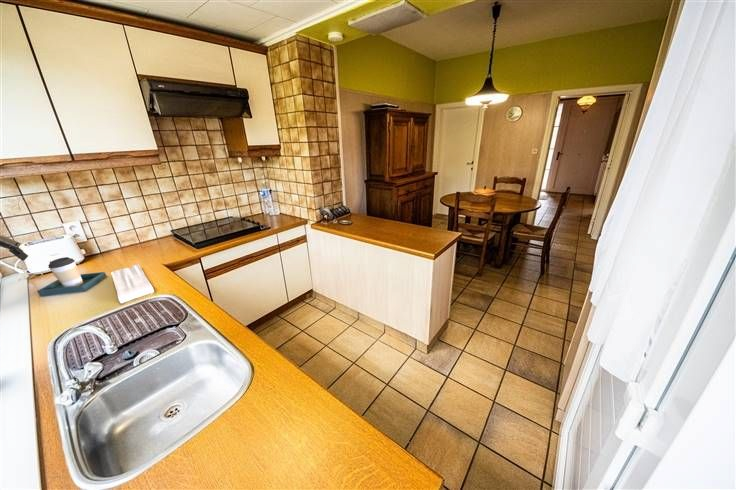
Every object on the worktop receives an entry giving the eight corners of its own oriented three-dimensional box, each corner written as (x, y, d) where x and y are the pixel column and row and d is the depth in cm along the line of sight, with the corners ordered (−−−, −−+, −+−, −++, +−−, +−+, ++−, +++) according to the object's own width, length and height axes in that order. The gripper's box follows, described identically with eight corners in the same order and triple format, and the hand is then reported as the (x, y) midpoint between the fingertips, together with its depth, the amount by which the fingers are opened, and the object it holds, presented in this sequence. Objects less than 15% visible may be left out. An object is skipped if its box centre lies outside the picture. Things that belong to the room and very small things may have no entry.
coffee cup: (85, 279, 142) (71, 253, 136) (87, 284, 136) (73, 258, 130) (60, 286, 135) (45, 260, 129) (62, 292, 130) (46, 265, 124)
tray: (40, 296, 128) (36, 291, 127) (66, 281, 142) (63, 276, 140) (85, 291, 131) (82, 286, 130) (107, 276, 144) (104, 271, 143)
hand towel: (138, 262, 150) (152, 287, 125) (141, 268, 152) (155, 293, 126) (109, 270, 142) (118, 299, 117) (112, 276, 144) (122, 306, 118)
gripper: (-101, 232, 93) (-38, 269, 109) (-13, 227, 98) (35, 263, 113) (-81, 218, 98) (-24, 255, 114) (2, 214, 103) (46, 250, 118)
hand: (6, 259), depth 113 cm, fingers open, 13 cm apart
